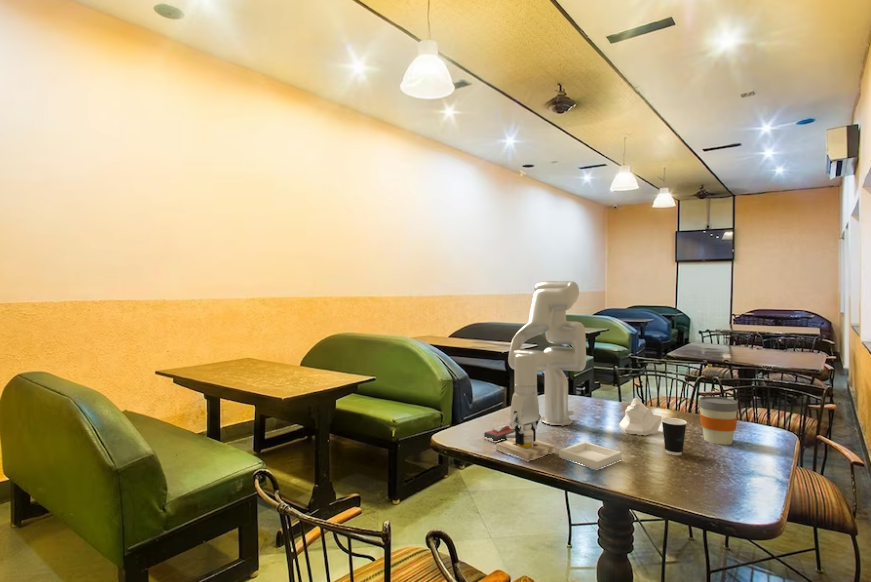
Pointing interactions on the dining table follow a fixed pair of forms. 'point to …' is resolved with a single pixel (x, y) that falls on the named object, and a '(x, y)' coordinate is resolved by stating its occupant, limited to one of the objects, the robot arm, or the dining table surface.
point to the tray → (590, 455)
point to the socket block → (535, 451)
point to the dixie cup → (674, 435)
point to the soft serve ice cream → (640, 420)
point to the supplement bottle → (527, 436)
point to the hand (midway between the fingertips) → (525, 441)
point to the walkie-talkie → (500, 433)
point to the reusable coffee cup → (718, 419)
